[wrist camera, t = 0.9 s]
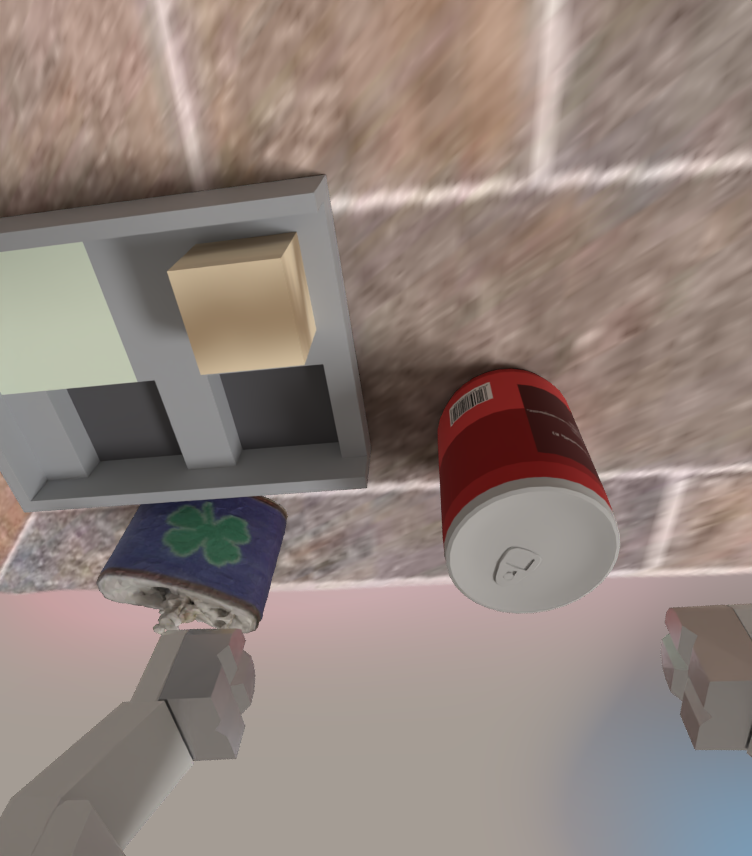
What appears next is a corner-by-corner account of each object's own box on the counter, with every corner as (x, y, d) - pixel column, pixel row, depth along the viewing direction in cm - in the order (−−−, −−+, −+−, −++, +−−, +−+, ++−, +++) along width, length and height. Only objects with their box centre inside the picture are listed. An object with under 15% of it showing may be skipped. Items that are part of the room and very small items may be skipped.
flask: (151, 495, 40) (77, 625, 31) (157, 462, 39) (80, 588, 30) (283, 533, 42) (248, 668, 33) (294, 502, 40) (261, 635, 31)
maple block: (195, 244, 29) (166, 271, 26) (296, 231, 28) (280, 257, 25) (223, 339, 32) (200, 375, 28) (316, 329, 31) (304, 364, 28)
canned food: (426, 467, 38) (429, 604, 29) (451, 354, 34) (465, 473, 24) (545, 483, 38) (586, 626, 29) (586, 373, 34) (650, 499, 25)
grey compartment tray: (-71, 227, 31) (-130, 250, 28) (325, 174, 29) (314, 192, 25) (57, 472, 40) (24, 512, 36) (371, 447, 37) (366, 488, 34)
